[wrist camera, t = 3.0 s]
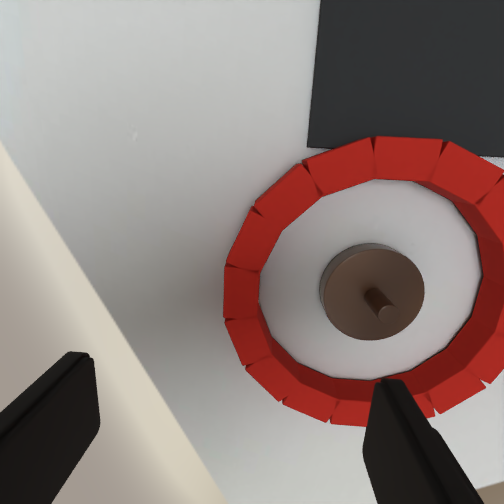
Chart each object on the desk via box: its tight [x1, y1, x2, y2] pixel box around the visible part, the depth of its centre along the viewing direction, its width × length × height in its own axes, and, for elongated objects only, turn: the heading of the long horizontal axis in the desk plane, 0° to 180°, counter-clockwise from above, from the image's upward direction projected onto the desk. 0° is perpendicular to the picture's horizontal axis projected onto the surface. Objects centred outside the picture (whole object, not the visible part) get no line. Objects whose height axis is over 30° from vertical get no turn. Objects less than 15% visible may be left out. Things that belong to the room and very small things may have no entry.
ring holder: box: [320, 244, 424, 340], centre depth 19 cm, size 6×6×4 cm
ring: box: [223, 136, 504, 427], centre depth 19 cm, size 19×19×2 cm
